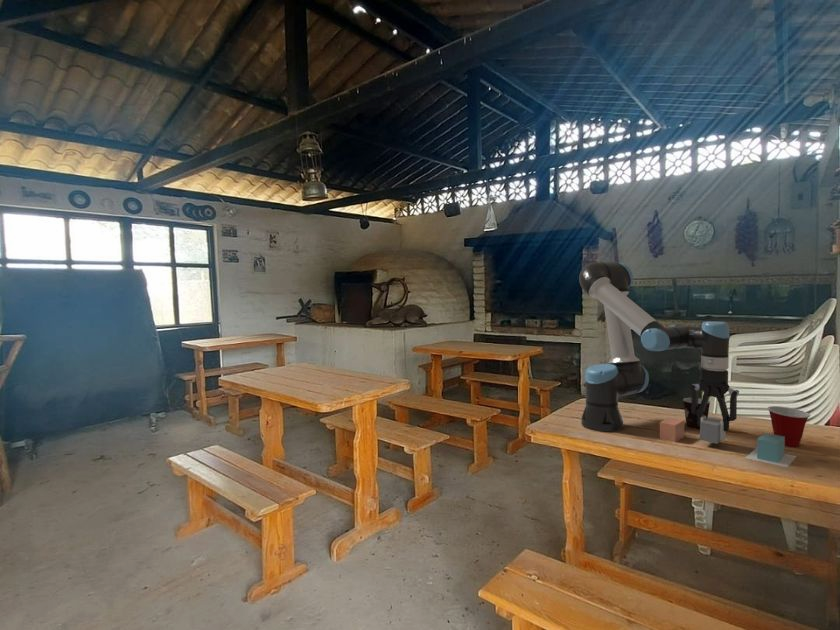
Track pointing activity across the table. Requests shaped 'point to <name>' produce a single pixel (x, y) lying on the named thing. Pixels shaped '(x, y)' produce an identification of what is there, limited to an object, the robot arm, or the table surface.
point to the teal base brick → (770, 447)
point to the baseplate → (783, 462)
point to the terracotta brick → (672, 429)
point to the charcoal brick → (710, 430)
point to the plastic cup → (788, 424)
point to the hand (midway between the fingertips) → (712, 437)
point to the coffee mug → (690, 417)
